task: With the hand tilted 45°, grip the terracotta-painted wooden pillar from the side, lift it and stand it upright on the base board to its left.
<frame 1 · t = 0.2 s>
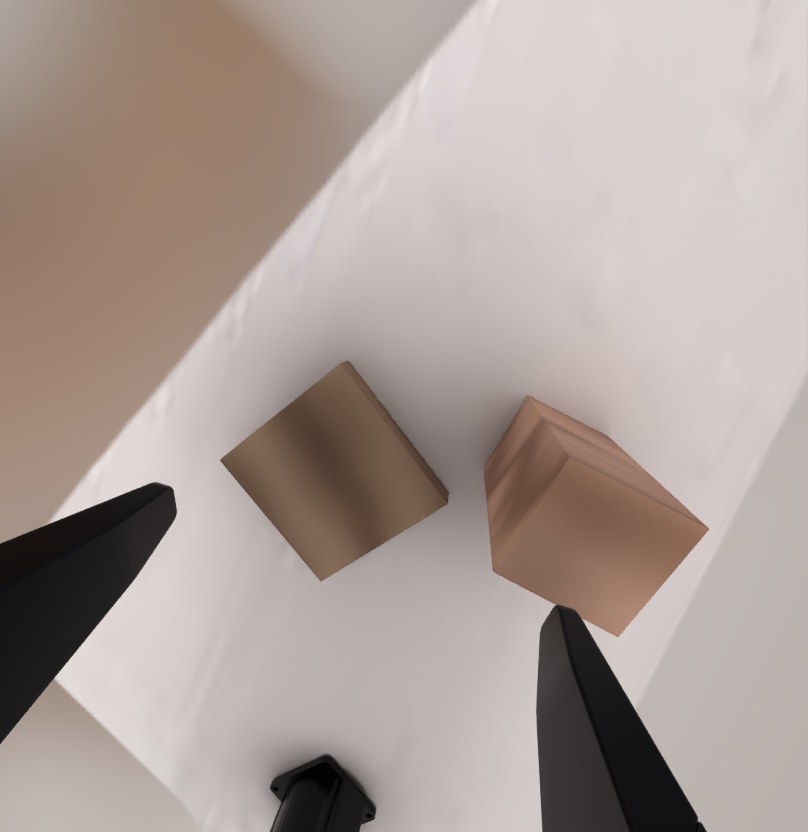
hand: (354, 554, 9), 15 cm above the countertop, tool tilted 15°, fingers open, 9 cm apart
pillar: (544, 453, 23), on the countertop
base board: (337, 471, 26), on the countertop
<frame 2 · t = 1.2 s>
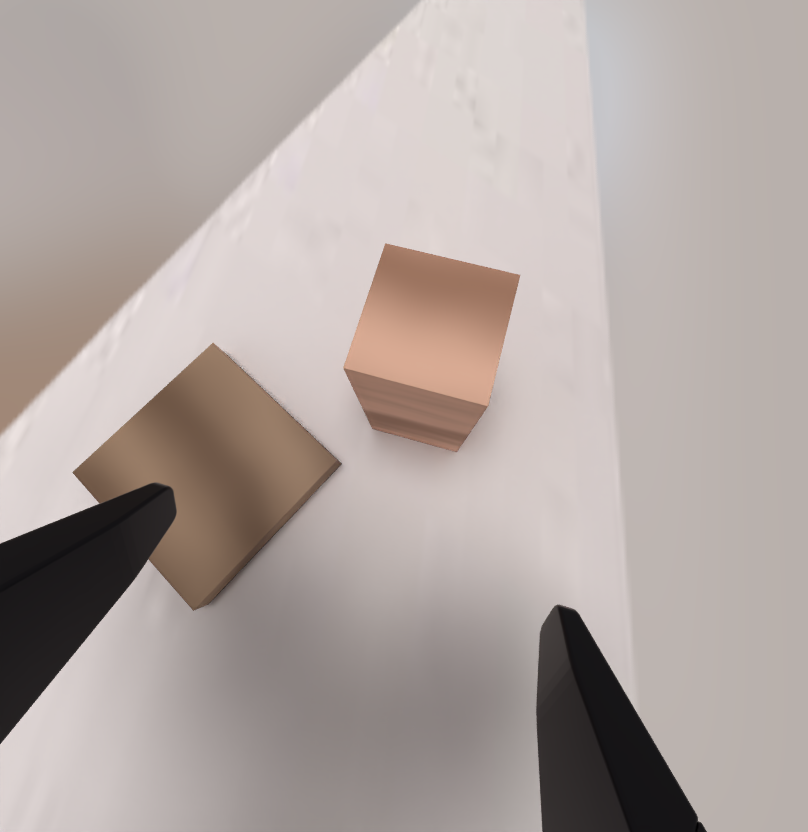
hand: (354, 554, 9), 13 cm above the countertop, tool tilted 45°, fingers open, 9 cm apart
pillar: (425, 399, 24), on the countertop
base board: (217, 469, 23), on the countertop
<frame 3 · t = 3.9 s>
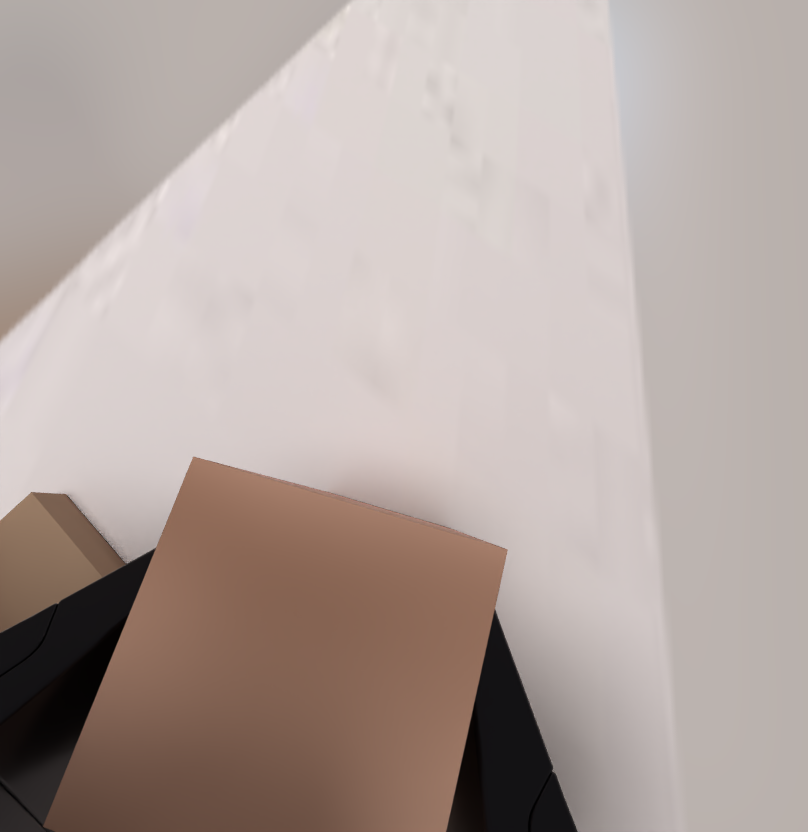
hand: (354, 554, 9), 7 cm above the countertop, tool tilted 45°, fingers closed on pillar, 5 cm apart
pillar: (368, 575, 15), on the countertop, touching gripper
base board: (35, 694, 15), on the countertop
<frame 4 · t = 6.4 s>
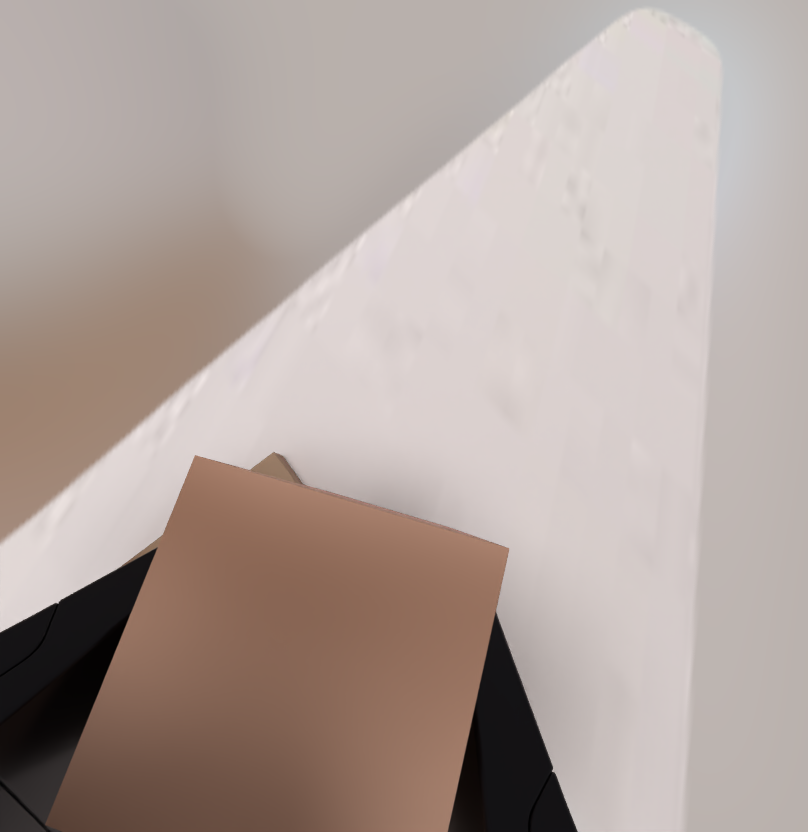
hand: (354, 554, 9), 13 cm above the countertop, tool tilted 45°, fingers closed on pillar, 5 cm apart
pillar: (368, 574, 15), point 7 cm above the countertop, touching gripper
base board: (258, 586, 22), on the countertop
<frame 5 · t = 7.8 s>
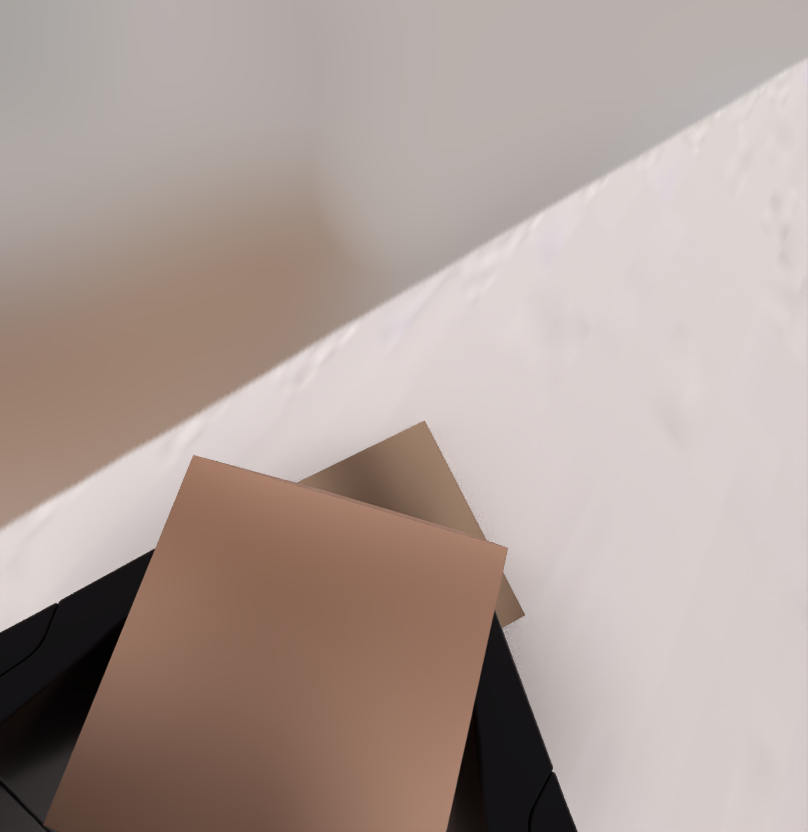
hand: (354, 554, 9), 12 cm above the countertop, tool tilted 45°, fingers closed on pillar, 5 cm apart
pillar: (368, 574, 15), point 5 cm above the countertop, touching gripper
base board: (379, 557, 20), on the countertop
when the fingers open (9 cm above the countertop, at t = 8.8 s): pillar drops 1 cm, resting on base board.
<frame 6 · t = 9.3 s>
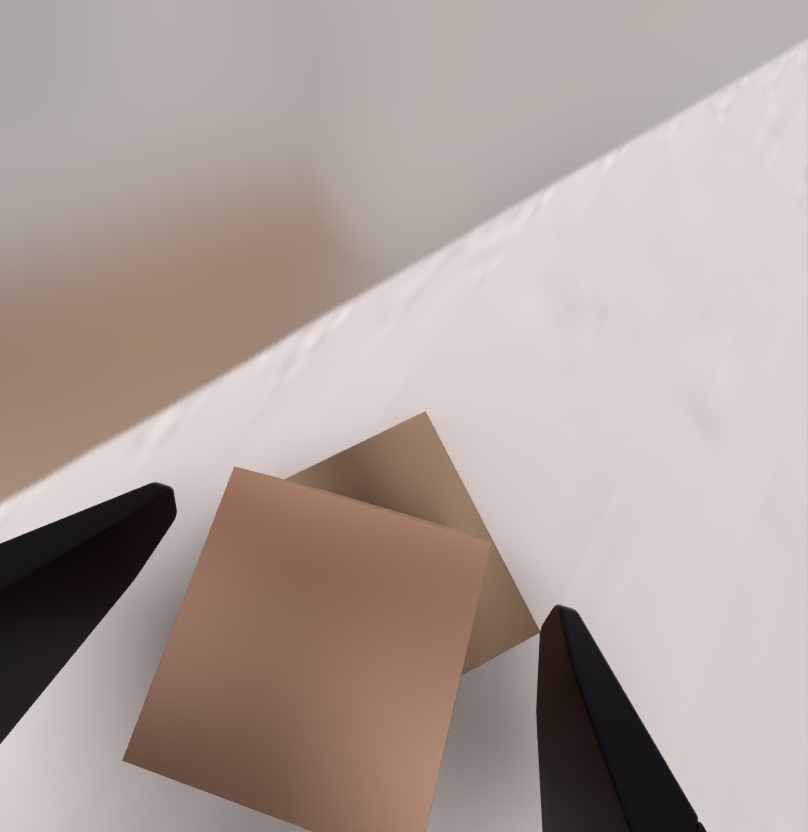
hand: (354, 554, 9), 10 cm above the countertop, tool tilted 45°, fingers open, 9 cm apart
pillar: (372, 569, 17), point 1 cm above the countertop, touching base board
base board: (374, 565, 18), on the countertop
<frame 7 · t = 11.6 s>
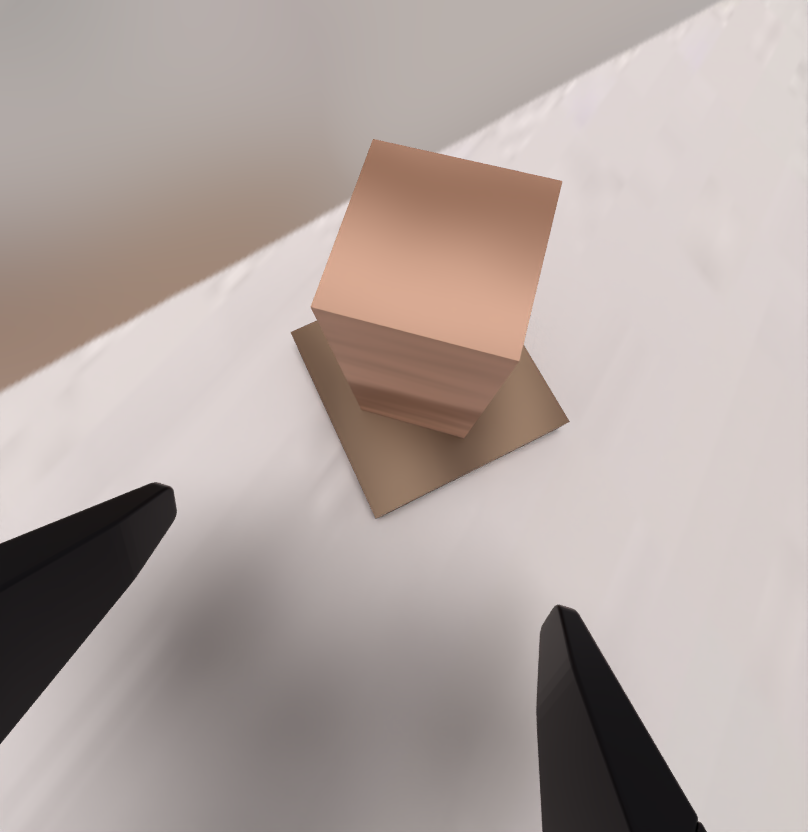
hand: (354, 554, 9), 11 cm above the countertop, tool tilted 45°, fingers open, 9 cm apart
pillar: (426, 375, 20), point 1 cm above the countertop, touching base board
base board: (424, 384, 21), on the countertop
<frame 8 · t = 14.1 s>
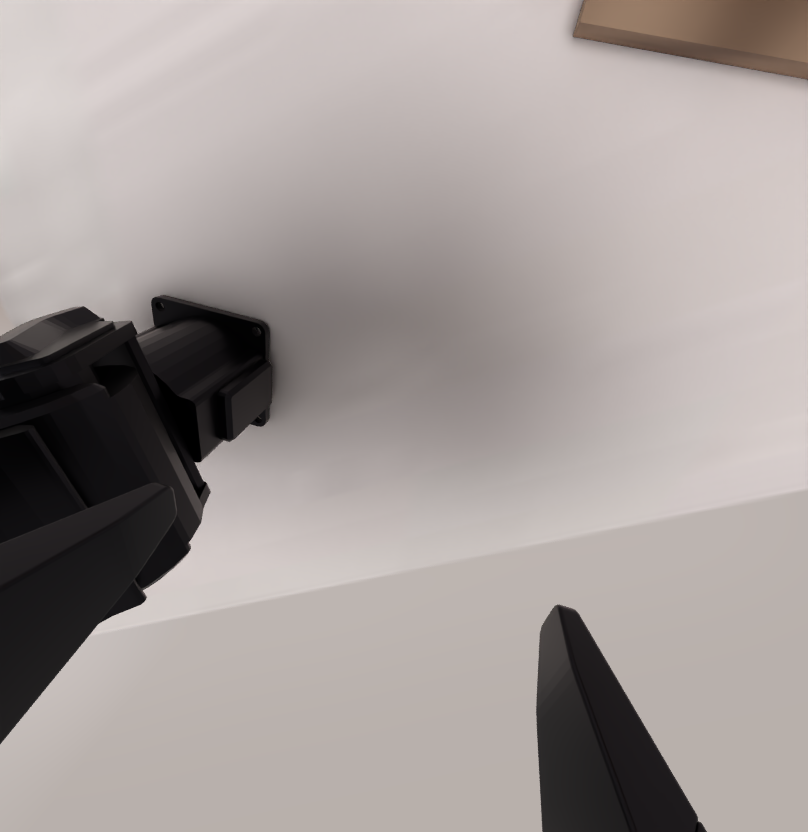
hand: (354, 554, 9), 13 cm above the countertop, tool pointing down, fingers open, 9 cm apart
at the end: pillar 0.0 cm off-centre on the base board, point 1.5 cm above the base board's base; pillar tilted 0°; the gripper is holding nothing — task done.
